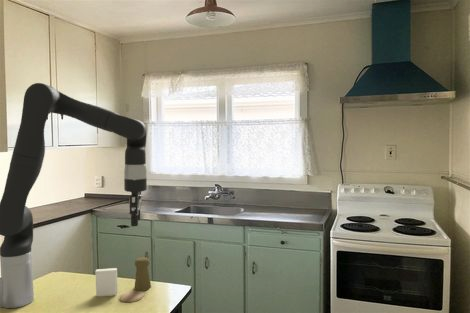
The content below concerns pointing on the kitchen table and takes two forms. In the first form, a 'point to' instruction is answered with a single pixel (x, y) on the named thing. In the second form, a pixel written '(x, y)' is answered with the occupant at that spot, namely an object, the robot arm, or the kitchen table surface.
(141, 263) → the pepper shaker
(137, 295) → the disc
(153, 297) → the kitchen table surface
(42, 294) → the kitchen table surface
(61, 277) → the kitchen table surface
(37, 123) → the robot arm
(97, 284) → the tile
